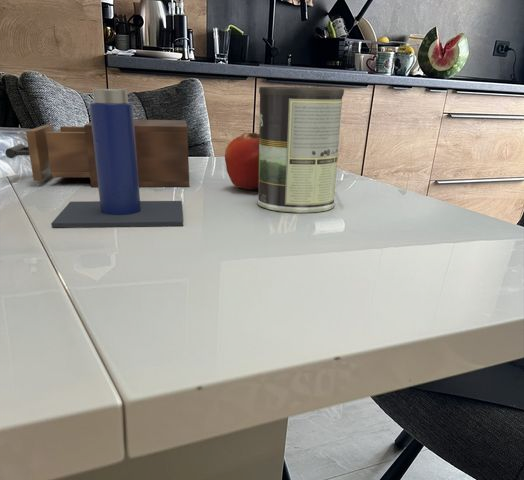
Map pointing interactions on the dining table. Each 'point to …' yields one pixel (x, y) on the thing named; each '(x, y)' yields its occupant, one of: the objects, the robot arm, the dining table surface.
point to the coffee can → (298, 148)
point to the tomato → (243, 161)
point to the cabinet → (153, 153)
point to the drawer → (55, 152)
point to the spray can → (115, 151)
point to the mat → (93, 217)
